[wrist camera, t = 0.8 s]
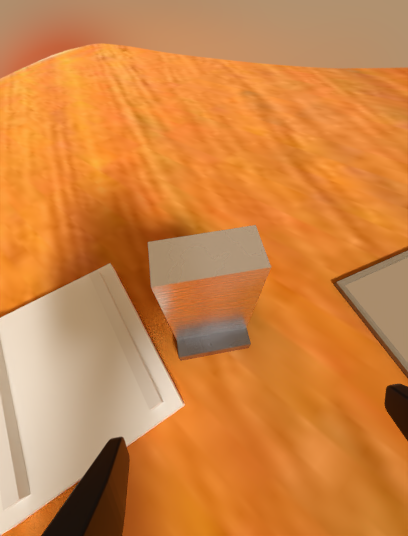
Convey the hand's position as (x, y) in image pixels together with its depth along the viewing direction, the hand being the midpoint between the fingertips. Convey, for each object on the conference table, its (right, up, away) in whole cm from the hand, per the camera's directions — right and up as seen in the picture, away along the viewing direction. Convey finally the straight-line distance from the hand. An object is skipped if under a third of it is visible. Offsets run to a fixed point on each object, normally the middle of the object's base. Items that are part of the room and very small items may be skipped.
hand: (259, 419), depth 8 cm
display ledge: (-14, -4, +14) cm, 20 cm away
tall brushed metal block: (-1, -1, +16) cm, 16 cm away
